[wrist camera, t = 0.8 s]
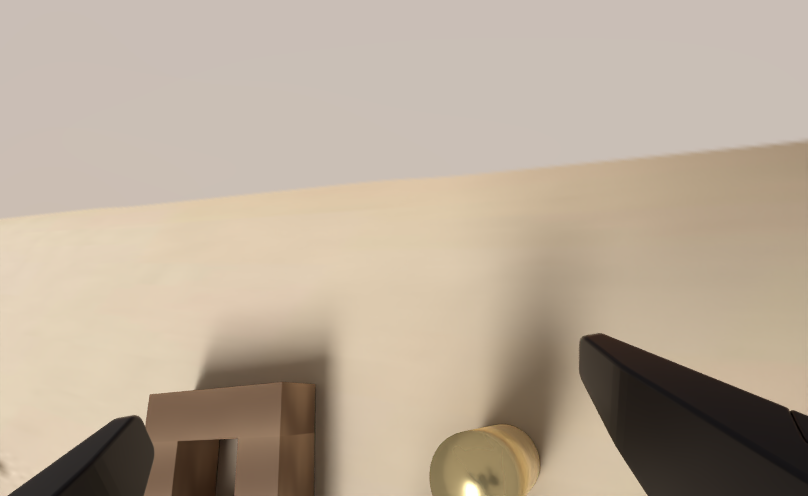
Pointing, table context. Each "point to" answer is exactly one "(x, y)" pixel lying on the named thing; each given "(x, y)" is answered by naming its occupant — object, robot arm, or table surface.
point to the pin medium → (485, 463)
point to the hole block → (228, 419)
